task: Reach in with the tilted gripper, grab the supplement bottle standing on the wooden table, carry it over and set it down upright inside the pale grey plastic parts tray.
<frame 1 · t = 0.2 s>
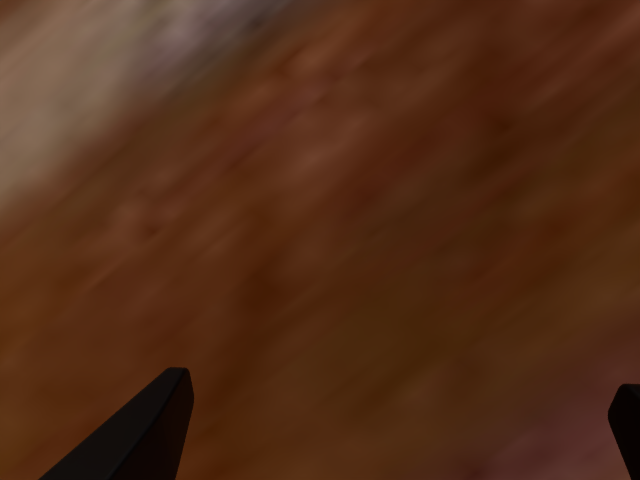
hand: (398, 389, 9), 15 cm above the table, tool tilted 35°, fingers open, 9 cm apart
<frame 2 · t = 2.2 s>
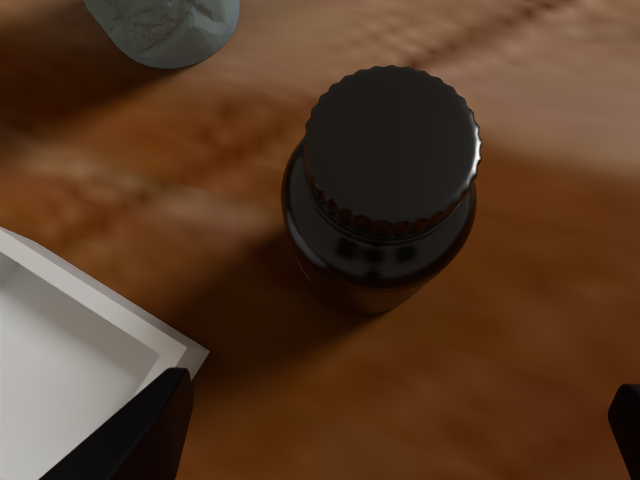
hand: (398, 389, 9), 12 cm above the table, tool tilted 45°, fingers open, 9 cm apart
parts tray: (47, 396, 21), on the table
supplement bottle: (361, 254, 23), on the table
drinking glass: (176, 20, 28), on the table
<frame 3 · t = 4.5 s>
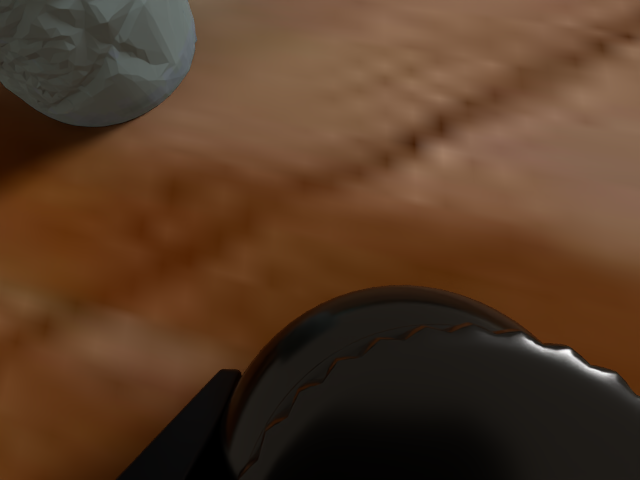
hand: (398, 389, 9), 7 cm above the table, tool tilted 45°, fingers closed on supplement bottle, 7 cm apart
supplement bottle: (368, 422, 15), on the table, touching gripper
drinking glass: (108, 55, 20), on the table
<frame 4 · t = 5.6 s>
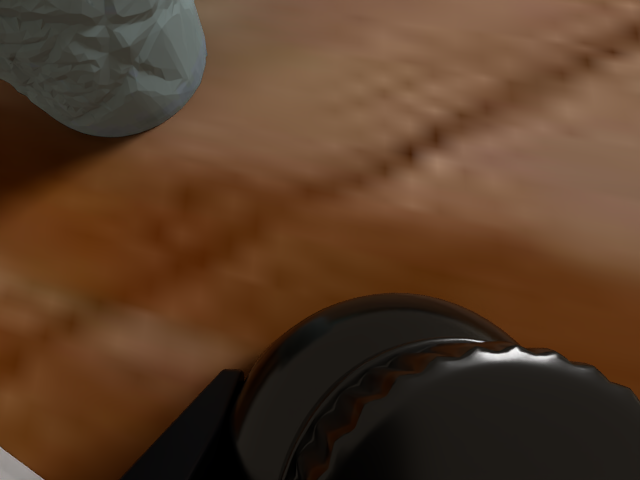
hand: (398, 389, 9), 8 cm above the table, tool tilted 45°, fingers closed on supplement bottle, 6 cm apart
supplement bottle: (333, 415, 16), point 1 cm above the table, touching gripper
drinking glass: (124, 68, 21), on the table
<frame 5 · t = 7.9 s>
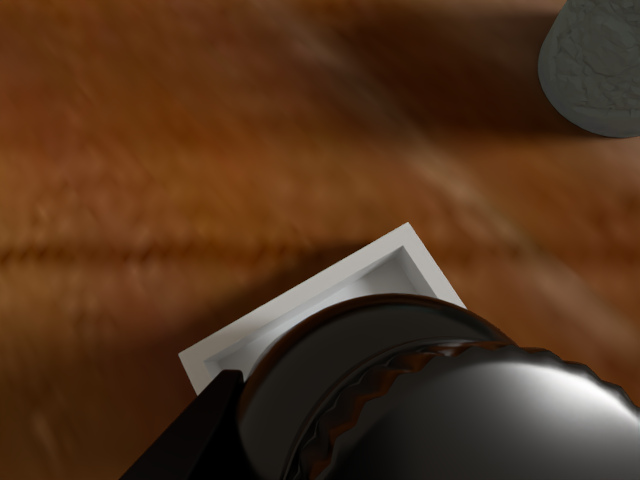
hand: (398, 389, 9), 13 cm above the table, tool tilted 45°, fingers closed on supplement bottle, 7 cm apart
parts tray: (361, 400, 21), on the table
supplement bottle: (333, 413, 16), point 5 cm above the table, touching gripper
drinking glass: (606, 80, 25), on the table
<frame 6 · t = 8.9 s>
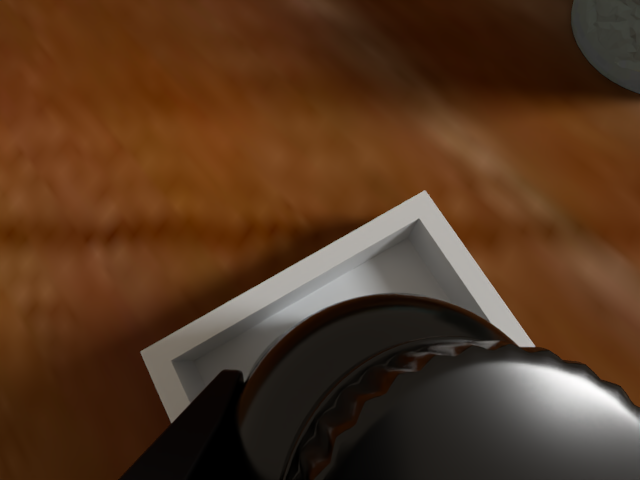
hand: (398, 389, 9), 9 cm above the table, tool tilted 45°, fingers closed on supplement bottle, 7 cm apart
parts tray: (367, 408, 17), on the table
supplement bottle: (333, 413, 16), point 1 cm above the table, touching gripper, parts tray
when the fingers open (9 cm above the table, at t = 9.9 s): supplement bottle stays where it is, resting on parts tray.
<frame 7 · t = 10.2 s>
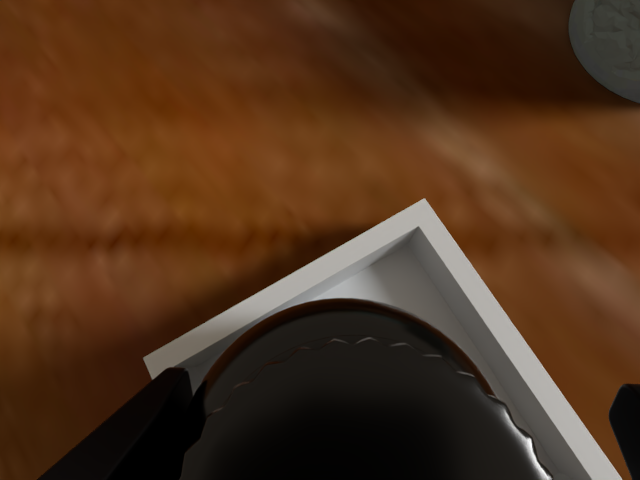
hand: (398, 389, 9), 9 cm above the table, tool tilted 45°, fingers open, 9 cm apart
parts tray: (367, 414, 17), on the table
supplement bottle: (333, 417, 16), point 1 cm above the table, touching gripper, parts tray
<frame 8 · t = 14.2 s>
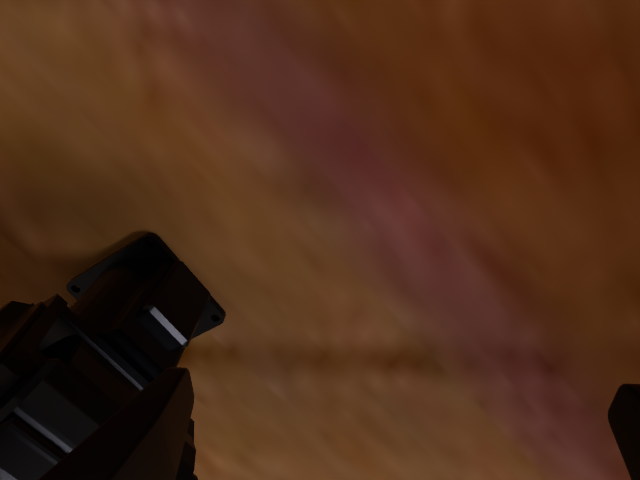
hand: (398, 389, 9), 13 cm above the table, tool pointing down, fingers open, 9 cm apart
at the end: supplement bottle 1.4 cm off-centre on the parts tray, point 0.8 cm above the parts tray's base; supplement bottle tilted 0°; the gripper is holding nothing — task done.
